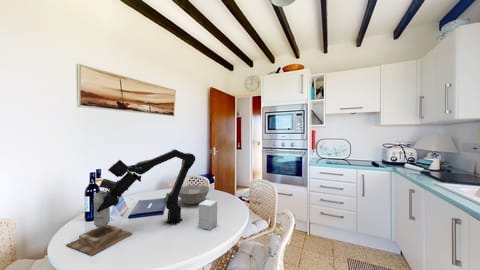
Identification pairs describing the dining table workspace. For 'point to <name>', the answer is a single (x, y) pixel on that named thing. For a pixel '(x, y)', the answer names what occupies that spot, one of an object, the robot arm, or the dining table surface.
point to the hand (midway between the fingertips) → (98, 209)
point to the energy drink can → (102, 216)
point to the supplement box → (207, 214)
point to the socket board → (94, 251)
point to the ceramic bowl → (193, 194)
